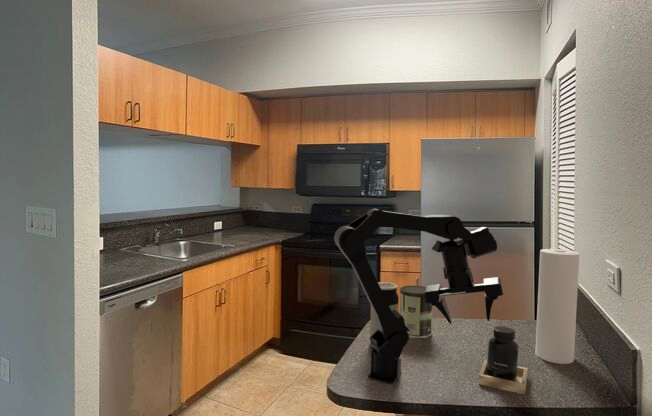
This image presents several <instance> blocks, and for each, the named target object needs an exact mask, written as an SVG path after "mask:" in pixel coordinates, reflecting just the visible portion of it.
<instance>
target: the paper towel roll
mask: <svg viewBox="0 0 652 416" xmlns="http://www.w3.org/2000/svg"><path fill="white" fill-rule="evenodd" d="M579 268H580V252H578V251H574V250H569V249H560V248H544V249H540V251H539V267H538V269H539V271H538V287H537V288H538V289H537V290H538V291H537V310H536V311H537V313H536V330H535V331H536V332H535V350H534V351H535V353H534V355H535V356H536V357H538V358H539V357H540V358H539V359H541V360H543V361H546V362H550V363H553V364H558V365H559V364H561V365H568V364H571V363H574V361H575V346H576V345H575V342H576V329H577V328H576V324H577V309H578V308H577V307H578V306H577V305H578V289H579V288H578V287H579V272H580V270H579Z"/></svg>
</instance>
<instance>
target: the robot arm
mask: <svg viewBox="0 0 652 416" xmlns="http://www.w3.org/2000/svg"><path fill="white" fill-rule="evenodd" d="M380 227H387V228H395V229H403V230H408V231H409V230H411V231H418V232H424V233H428V234H430V235H432V236H433V235H434V236H437V237H440V238H444V239H446V240H445V241H441V240H437V239H436V242H435V244H433V246H432V247H431V250H432V251H434V252H436V253H441V256H442V260H443V265H444V267H443V268H442V269H443V276H444V279H445V280H447V282H448V285H449V286H448V287H443V288H442V285H441V283H435V284H429V285H426V286H425V287H426V288H425V291H424V300H425V303H431V305H432V307H433V306H435V307H436V309H437V310H438V311H439V312H440V313H441V315H442V316H443V317H444V318H445V319H446V320H447V322H448V323H449V325H452V324H453V323H452V322H453V321H452V317H451V314H450V313H451V312H450V311H449V308H448V304H447V301H446V297H445V296H454V295H455V296H457V295H463V294H471V293H472V294H473V293H482V292H484V302H485V314H486V315H485V316H486V321H487V322H489V321H490V318H491V311H492V307H493V303H494V300H498V299H499V297H501V296H503V295H504V291H503V283H502V280H501V278H500V277H498V276H497V277H495V276H494V277H486V278H483V283H477V284H476V283H475V284H474V276H473V272H472V269H471V267H470V264H469V260H468V257H470V258H471V259H478V258H481V257H484V256H487V255H488V256H489V255H490V254H495V253H496V252H497V250H498V243H497V240H495V237H494V235H493V234H492V233H491V232H490V229H489V227H487V226H481V227H480V228H479V227H478V228H477V229H475V230H471V231H470V230H468V229H467V228H466V227H465V226H464V224H463V222H462V220H461V218H459V217H458V216H455V215H454V216H453V215H448V214H429V215H416V214H408V213H402V212H397V211H396V212H395V211H394V212H393V211H389V210H388V211H386V210H381V209H378V208H371V209H369V210H368V211H366V213H365V214H363V215H361V216H359V217H358V218H356V219H355V220H354V221H352V222H351V223H349V224H348V225H343V226H340V227H339V228H338V229H337V230H336V231H335V233H334V236H333V238H334V239H333V240H334V244H335V245H336V247H338V249H339V251H341V253H342V254H343V256H344V257H345V258H346V259H347V261H348V262H349V263H350V264H351V267H352V269H353V270H354V271H353V272H354V273H355V275H356V277H357V279H358V281H359V283H360V285H361V287H362V289H363V292H364V294H365V296H366V297H367V300H368V302H369V304H370V307H371V306H372V309H373V311H374V313H375V319H376V324H377V328H378V330H377V331H376V332H375V333H374V334H373V335H372V336H371V337H370V336H369V343H370V342H371V345H372V346H373V347H372V346H371V345H370V346H371V347H372V349H371V350H370V372H369V373H368V375H367V378H369V379H372V380H376V381H380V382H383V383H386V384H387V383H388V384H394V383H395V382H396V380H397V379H398V378H399V377H400V376H401V374H402V371H401V369H402V359H401V355H402V353H403V350H404V347H406V345H407V344H408V341H409V340H410V337H409V335H408V332H407V331H410V330H409V329H408V328H407V327H406V325H405V322H404V318H403V316H402V315H401V314H400V311H399V310H398V311H397V310H396V309H394V310H392V311H391V309H390V307H389V305H388V303H387V301H386V298H385V296H384V294H383V292H382V290H381V288H380V286H379V284H378V282H379V281H378V280H377V278H376V276H375V273H374V271H373V269H372V266H371V264H370V263H369V260H368V255H367V248H366V245H365V242H366V241H367V240H368V239H369V238H370V237H372V236H373V234H374V233H375V232H376V231H377V229H379V228H380ZM458 239H459V240H458Z"/></svg>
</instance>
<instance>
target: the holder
mask: <svg viewBox="0 0 652 416" xmlns="http://www.w3.org/2000/svg"><path fill="white" fill-rule="evenodd" d="M527 381H528V367H523V366H517V378H516V380H515V381H510V380H506V379H501V378H497V377H492V376H488V375H487V359H484V360H483V364H482V367H481V368H480V372H479V375H478V385H481V386H486V387H490V388H495V389H498V390H503V391H506V392H512V393H515V392H516V393H515V394H520V395H525V396H526V391H527Z"/></svg>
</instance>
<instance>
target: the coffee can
mask: <svg viewBox="0 0 652 416" xmlns="http://www.w3.org/2000/svg"><path fill="white" fill-rule="evenodd" d="M425 288H426V286H423V285H422V286H421V285H405V286H402V287H399V313H400V314H401V315H402V316H403V318H404V322H405V325H406V327H407V328H408V329H409V330H410V331H407V332H408V335H409V339H410V338H411V339H428V338H429V337H431V336H432V335H433V334H432V323H433V322H432V321H433V319H432V317H433V306H432V305H431V303H425V300H424V291H425Z"/></svg>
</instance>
